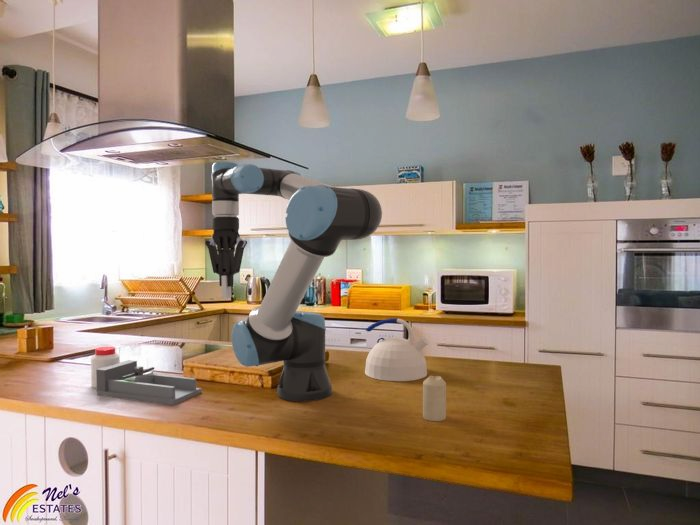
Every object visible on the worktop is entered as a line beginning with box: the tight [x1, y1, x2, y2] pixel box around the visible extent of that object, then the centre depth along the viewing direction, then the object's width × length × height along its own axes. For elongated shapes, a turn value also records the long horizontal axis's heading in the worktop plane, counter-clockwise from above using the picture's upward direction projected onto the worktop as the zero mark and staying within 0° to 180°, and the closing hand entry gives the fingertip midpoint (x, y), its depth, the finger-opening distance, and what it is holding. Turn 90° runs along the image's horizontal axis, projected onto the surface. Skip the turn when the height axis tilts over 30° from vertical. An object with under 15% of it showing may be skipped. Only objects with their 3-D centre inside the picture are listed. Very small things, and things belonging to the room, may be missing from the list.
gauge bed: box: [96, 359, 202, 406], centre depth 144 cm, size 26×12×7 cm, turn 69°
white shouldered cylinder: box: [422, 375, 447, 422], centre depth 124 cm, size 6×6×10 cm
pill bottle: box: [90, 346, 121, 389], centre depth 154 cm, size 8×8×11 cm
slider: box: [122, 366, 155, 384], centre depth 145 cm, size 4×12×6 cm, turn 160°
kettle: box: [364, 318, 429, 382], centre depth 166 cm, size 20×21×18 cm
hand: (226, 297), depth 149 cm, fingers closed
